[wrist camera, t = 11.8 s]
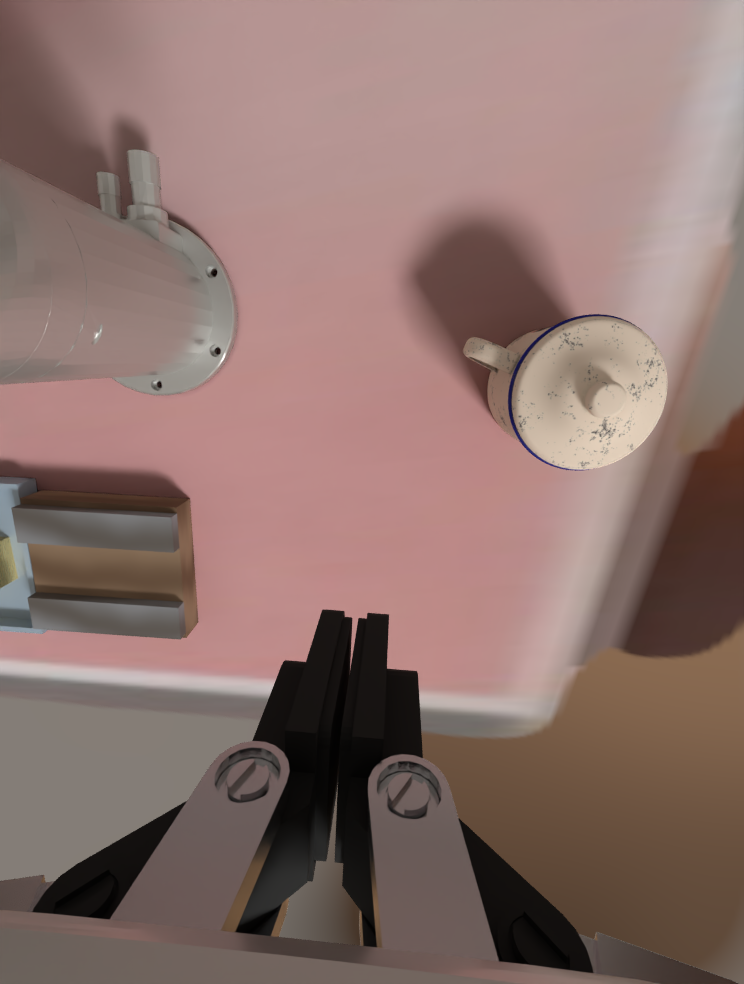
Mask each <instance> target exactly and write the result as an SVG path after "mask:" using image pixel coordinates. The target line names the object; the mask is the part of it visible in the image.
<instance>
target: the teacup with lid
mask: <svg viewBox="0 0 744 984" xmlns="http://www.w3.org/2000/svg"><path fill="white" fill-rule="evenodd" d="M463 353H464V355H465V356H466V357H467V358H469V359H470V360H472V361H474V362H476V363H478V364H479V365H481V366H483V367H485V368H488V369H490V370H491V373H490V376H489V380H488V387H487V396H488V403H489V407H490V410H491V413H492V415H493V417H494V419H495V420H496V422H497V423H498V425H499V426H500V427H501V428H502V429H503V430H504V431H505V432H506V433H507V434H509V435H510V436H512V437H513V438H515V439H516V440H518V441H519V442H521V443H522V445H523V446H524V447H525V448H526V449H527V450H528V451H529V452H530V453H531V454H532V455H533V456H535V457H536V458H538V459H539V460H541V461H542V462H544V463H546V464H549V465H551V466H554V467H557V468H561V469H566V470H590V469H595V468H599V467H603V466H606V465H609V464H611V463H614V462H616V461H618V460H620V459H622V458H623V457H625V456H627V455H628V454H630V453H631V452H632V451H634V450H635V449H636V448H637V447H638V446H640V445H641V443H642V442H643V441H644V440H645V439H646V438H647V437H648V436H649V434H650V433H651V432H652V430H653V429H654V427H655V426H656V424H657V422H658V420H659V418H660V416H661V414H662V411H663V408H664V404H665V400H666V395H667V373H666V368H665V364H664V361H663V358H662V355H661V353H660V351H659V350H658V348H657V346H656V345H655V343H654V342H653V341H652V340H651V338H650V337H649V336H648V335H647V334H646V333H644V332H643V331H642V330H641V329H640V328H638V327H637V326H635V325H634V324H632V323H630V322H628V321H626V320H624V319H621V318H618V317H614V316H609V315H600V314H594V315H583V316H578V317H574V318H571V319H568V320H565V321H563V322H561V323H558V324H557V325H555V326H553V327H548V328H544V329H539V330H535V331H532V332H529V333H527V334H524V335H522V336H521V337H519V338H517V339H516V340H514V341H513V342H512V343H511V344H509V345H508V346H507V347H506V348H503V347H501V346H499V345H497V344H495V343H492V342H490V341H487V340H484V339H481V338H477V337H472V338H469V339H468V340H467V342H466V344H465V346H464V349H463Z"/></svg>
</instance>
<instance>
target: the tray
mask: <svg viewBox="0 0 744 984" xmlns="http://www.w3.org/2000/svg"><path fill="white" fill-rule="evenodd" d="M36 492H37V486H36V480H35V478H18V477H1V476H0V537H9V538H10V542H11V547H12V552H13V556H14V561H15V566H16V570H17V575H18V579H16V580H14V581H12V582H11V583H9V584H7V585H5V586H4V587H2V588H0V631H11V632H25V633H39V634H43V633H44V632H46V631H47V630H42V629H33V626H32V621H31V615H30V609H29V604H28V597H29V596H31V595H32V594H34V593H36V588H35V582H34V576H33V570H32V564H31V559H30V553H29V547H28V543H17V537H16V531H15V526H14V520H13V515H12V509H11V508H12V507H15V506H17V505H20V504H21V501H20V498H22V497H25V496H28V495H30V494H33V493H36Z"/></svg>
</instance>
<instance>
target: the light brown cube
mask: <svg viewBox="0 0 744 984" xmlns="http://www.w3.org/2000/svg"><path fill="white" fill-rule="evenodd" d="M16 579H18V575H17V570H16V566H15V561H14V556H13V552H12V547H11V542H10V538H9V537H0V588H2V587H4V586H5V585H7V584H9V583H11V582H12V581H14V580H16Z"/></svg>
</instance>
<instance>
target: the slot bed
mask: <svg viewBox="0 0 744 984" xmlns="http://www.w3.org/2000/svg"><path fill="white" fill-rule="evenodd" d="M20 501H21V504H20V505H17V506H15V507H12V508H11V509H12V515H13V520H14V526H15V531H16V537H17V543H28V547H29V553H30V559H31V564H32V570H33V576H34V582H35V588H36V593H34V594H32V595H31V596H29V597H28V604H29V609H30V615H31V621H32V626H33V629H42V630H56V631H70V632H84V633H98V634H112V635H126V636H140V637H154V638H169V639H182V637H183V638H187V636H188V635H189V634H190V632H191V631H192V630H193V628H194V627H195V626H196V624H197V623H198V612H197V597H196V582H195V568H194V553H193V538H192V523H191V508H190V499H187V498H170V497H153V496H136V495H119V494H102V493H85V492H69V491H52V490H41V491H38V492H36V493H33V494H30V495H28V496H25V497H22V498H20Z"/></svg>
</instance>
